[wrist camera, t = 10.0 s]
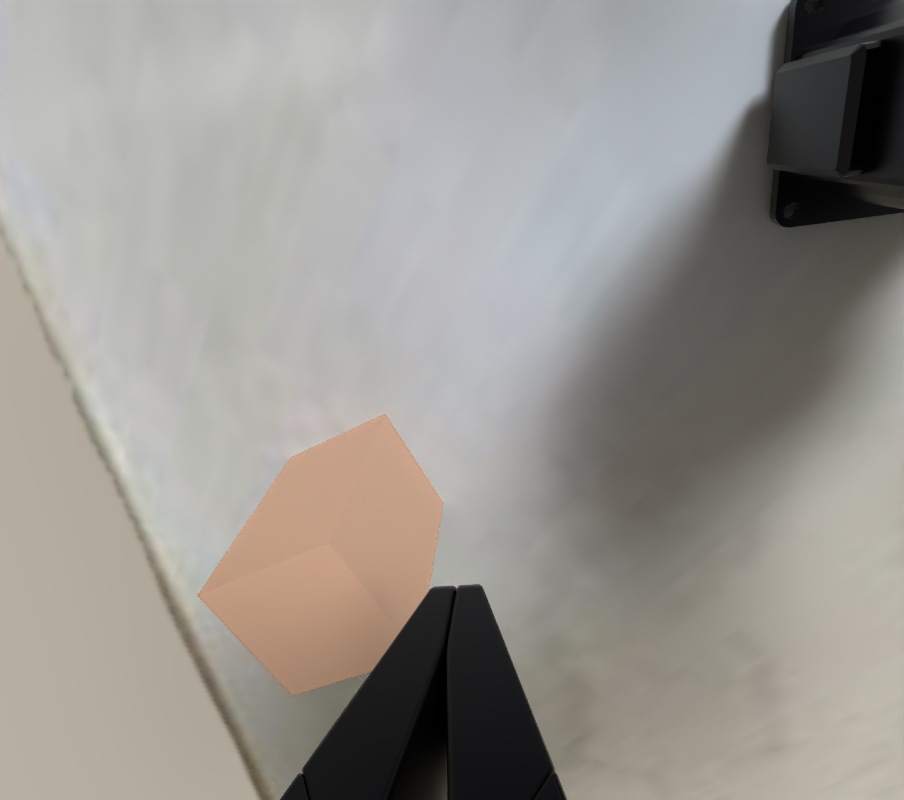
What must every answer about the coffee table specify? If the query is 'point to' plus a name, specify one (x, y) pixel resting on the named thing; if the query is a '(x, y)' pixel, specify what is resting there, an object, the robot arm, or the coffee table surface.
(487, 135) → the coffee table surface
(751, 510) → the coffee table surface
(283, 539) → the terracotta block
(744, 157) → the coffee table surface
